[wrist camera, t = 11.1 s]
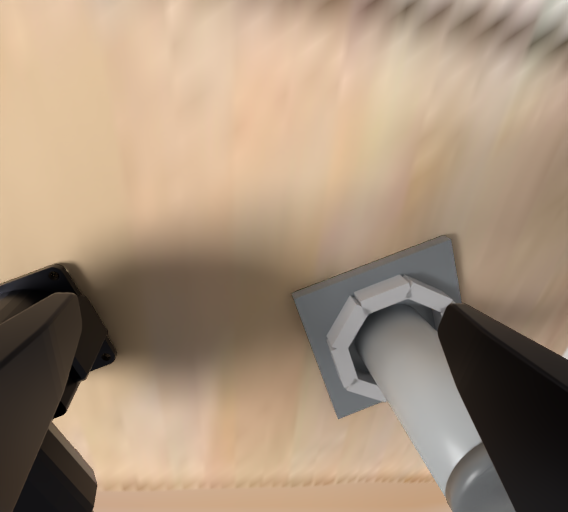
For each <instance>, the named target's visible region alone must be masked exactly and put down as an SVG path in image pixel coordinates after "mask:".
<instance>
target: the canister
mask: <svg viewBox="0 0 568 512" xmlns="http://www.w3.org/2000/svg"><path fill="white" fill-rule="evenodd" d="M356 349H357V352H358V354H359V355H360V357H361V359H362V360H363V362H364V364H365V365H366V367H367V369H368V370H369V372H370V374H371V375H372V377H373V379H374V380H375V382H376V383H377V385H378V387H379V388H380V390H381V392H382V393H383V395H384V397H385V398H386V400H387V402H388V403H389V405H390V407H391V408H392V410H393V412H394V413H395V415H396V416H397V418H398V420H399V421H400V423H401V425H402V426H403V428H404V430H405V431H406V433H407V435H408V436H409V438H410V440H411V441H412V443H413V445H414V446H415V448H416V450H417V451H418V453H419V454H420V456H421V458H422V459H423V461H424V463H425V464H426V466H427V468H428V469H429V471H430V473H431V474H432V476H433V478H434V479H435V481H436V483H437V484H438V486H439V487H440V489H441V491H442V492H443V494H444V496H445V497H446V500H447V503H448V505H449V506H450V508H451V510H452V511H453V512H515V510H514V508H513V505H512V503H511V501H510V499H509V497H508V495H507V493H506V491H505V489H504V487H503V485H502V482H501V480H500V478H499V476H498V474H497V472H496V470H495V468H494V466H493V464H492V462H491V459H490V457H489V455H488V453H487V451H486V449H485V447H484V445H483V443H482V441H481V439H480V436H479V434H478V432H477V430H476V428H475V426H474V424H473V422H472V420H471V418H470V415H469V413H468V411H467V409H466V407H465V405H464V403H463V401H462V399H461V397H460V394H459V392H458V390H457V388H456V385H455V382H454V380H453V377H452V374H451V372H450V369H449V366H448V363H447V360H446V358H445V355H444V352H443V349H442V346H441V344H440V341H439V338H438V332H437V331H436V330H435V329H434V328H433V327H432V326H431V325H430V324H429V323H428V322H427V321H426V320H425V319H424V318H423V317H422V316H421V315H420V314H419V313H418V312H417V311H416V310H414V309H413V308H411V307H409V306H406V305H402V304H393V305H390V306H388V307H385V308H383V309H380V310H377V311H375V312H372V313H371V314H370V315H369V316H368V317H367V318H366V319H365V321H364V322H363V324H362V326H361V327H360V329H359V331H358V332H357V335H356Z"/></svg>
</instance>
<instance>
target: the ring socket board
mask: <svg viewBox="0 0 568 512" xmlns="http://www.w3.org/2000/svg"><path fill="white" fill-rule="evenodd" d="M291 294H292V297H293V299H294V302H295V305H296V307H297V310H298V313H299V315H300V318H301V321H302V324H303V326H304V329H305V332H306V334H307V337H308V340H309V342H310V345H311V348H312V351H313V353H314V356H315V359H316V361H317V364H318V367H319V369H320V372H321V375H322V377H323V380H324V383H325V386H326V388H327V391H328V394H329V396H330V399H331V402H332V404H333V407H334V410H335V412H336V415H337V417H338V419H340V418H342V417H345V416H347V415H350V414H352V413H355V412H358V411H360V410H363V409H365V408H368V407H370V406H373V405H375V404H378V403H380V402H386V401H387V400H386V398H385V397H384V395H383V393H382V392H381V390H380V388H379V387H378V385H377V383H376V382H375V380H374V379H373V377H372V375H371V374H370V372H369V370H368V369H367V367H366V365H365V364H364V362H363V360H362V359H361V357H360V355H359V354H358V352H357V349H356V335H357V332H358V331H359V329H360V327H361V326H362V324H363V322H364V321H365V319H366V318H367V317H368V316H369V315H370V314H371V313H372V312H375V311H377V310H380V309H383V308H385V307H388V306H390V305H393V304H402V305H406V306H409V307H411V308H413V309H414V310H416V311H417V312H418V313H419V314H420V315H421V316H422V317H423V318H424V319H425V320H426V321H427V322H428V323H429V324H430V325H431V326H432V327H433V328H434V329H435V330H436V331H437V332H438V326H439V324H440V321H441V319H442V316H443V314H444V311H445V309H446V307H447V305H448V304H450V303H462V302H461V296H460V290H459V284H458V278H457V272H456V266H455V260H454V254H453V248H452V242H451V239H450V238H448V237H446V236H445V235H442V236H440V237H437V238H435V239H432V240H429V241H427V242H424V243H421V244H419V245H416V246H414V247H411V248H408V249H406V250H403V251H401V252H398V253H395V254H393V255H390V256H387V257H385V258H382V259H380V260H377V261H374V262H372V263H369V264H366V265H364V266H361V267H359V268H356V269H353V270H351V271H348V272H346V273H343V274H340V275H338V276H335V277H332V278H330V279H327V280H325V281H322V282H319V283H317V284H314V285H312V286H309V287H306V288H304V289H301V290H298V291H296V292H293V293H291Z"/></svg>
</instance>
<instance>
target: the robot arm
mask: <svg viewBox="0 0 568 512" xmlns="http://www.w3.org/2000/svg"><path fill="white" fill-rule="evenodd" d="M51 272H57V273H58V274H59V277H54V276H53V275H52V273H51ZM107 333H108V331H107V329H106V327H105V326H104V324H103V323H102V321H101V319H100V318H99V316H98V315H97V313H96V311H95V310H94V308H93V306H92V305H91V303H90V302H89V300H88V298H87V297H86V296H84V295H82V294H81V293H80V292H79V290H78V288H77V287H76V285H75V284H74V282H73V280H72V279H71V277H70V276H69V274H68V272H67V271H66V269H65V268H64V267H63V266H61V265H57V264H54V265H50V266H47V267H45V268H42V269H39V270H36V271H34V272H31V273H28V274H26V275H23V276H20V277H18V278H15V279H12V280H10V281H7V282H4V283H2V284H0V512H93V507H94V502H95V496H96V490H97V482H96V478H95V475H94V471H93V469H92V468H91V467H90V466H89V465H88V464H87V462H86V461H85V460H84V459H83V458H82V456H81V455H80V453H79V452H78V451H77V450H76V449H75V448H74V447H73V446H72V445H71V444H70V442H69V441H68V440H67V439H66V438H65V437H64V435H63V434H62V433H61V432H60V431H59V430H58V428H57V427H56V426H55V425H54V424H53V423H52V421H53V419H54V418H57V417H59V416H62V415H64V414H65V413H66V411H67V409H68V407H69V405H70V403H71V401H72V399H73V397H74V395H75V393H76V390H77V388H78V386H79V384H80V382H81V381H84V380H86V379H87V376H88V374H89V372H90V371H92V370H95V369H98V368H100V367H103V366H105V365H108V364H111V363H112V362H113V361H114V360H115V358H116V355H117V352H116V349H115V348H114V346H113V344H112V343H111V341H110V340H109V338H108V336H107ZM438 338H439V341H440V344H441V346H442V349H443V352H444V355H445V358H446V360H447V363H448V366H449V369H450V372H451V374H452V377H453V380H454V382H455V385H456V388H457V390H458V392H459V394H460V397H461V399H462V401H463V403H464V405H465V407H466V409H467V411H468V413H469V415H470V418H471V420H472V422H473V424H474V426H475V428H476V430H477V432H478V434H479V436H480V439H481V441H482V443H483V445H484V447H485V449H486V451H487V453H488V455H489V457H490V459H491V462H492V464H493V466H494V468H495V470H496V472H497V474H498V476H499V478H500V480H501V482H502V485H503V487H504V489H505V491H506V493H507V495H508V497H509V499H510V501H511V503H512V505H513V508H514V510H515V512H568V360H567V359H566V358H564V357H562V356H560V355H558V354H556V353H555V352H553V351H551V350H549V349H547V348H545V347H544V346H542V345H540V344H538V343H536V342H535V341H533V340H531V339H529V338H527V337H525V336H524V335H522V334H520V333H518V332H516V331H514V330H513V329H511V328H509V327H507V326H505V325H504V324H502V323H500V322H498V321H496V320H494V319H493V318H491V317H489V316H487V315H485V314H483V313H482V312H480V311H478V310H476V309H474V308H472V307H471V306H469V305H467V304H464V303H450V304H448V305H447V307H446V309H445V311H444V314H443V316H442V319H441V321H440V324H439V326H438ZM104 353H107V354H109V355H110V356H109V357H107V356H105V355H104Z"/></svg>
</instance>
